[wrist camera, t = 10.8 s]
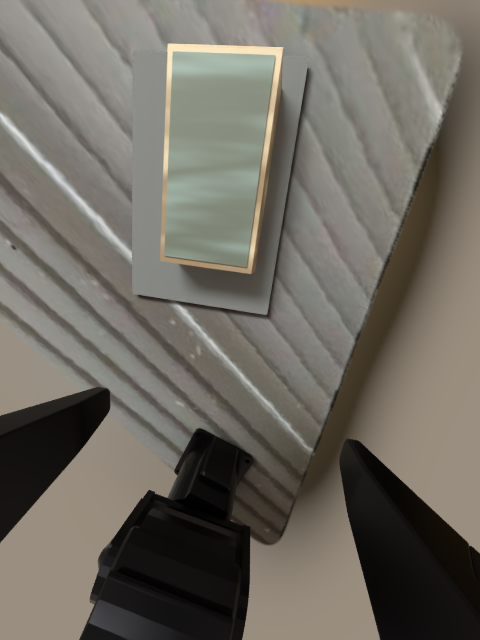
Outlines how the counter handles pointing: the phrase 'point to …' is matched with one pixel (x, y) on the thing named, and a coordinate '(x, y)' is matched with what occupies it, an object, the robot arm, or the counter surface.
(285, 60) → the mat
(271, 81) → the tile
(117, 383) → the counter surface
